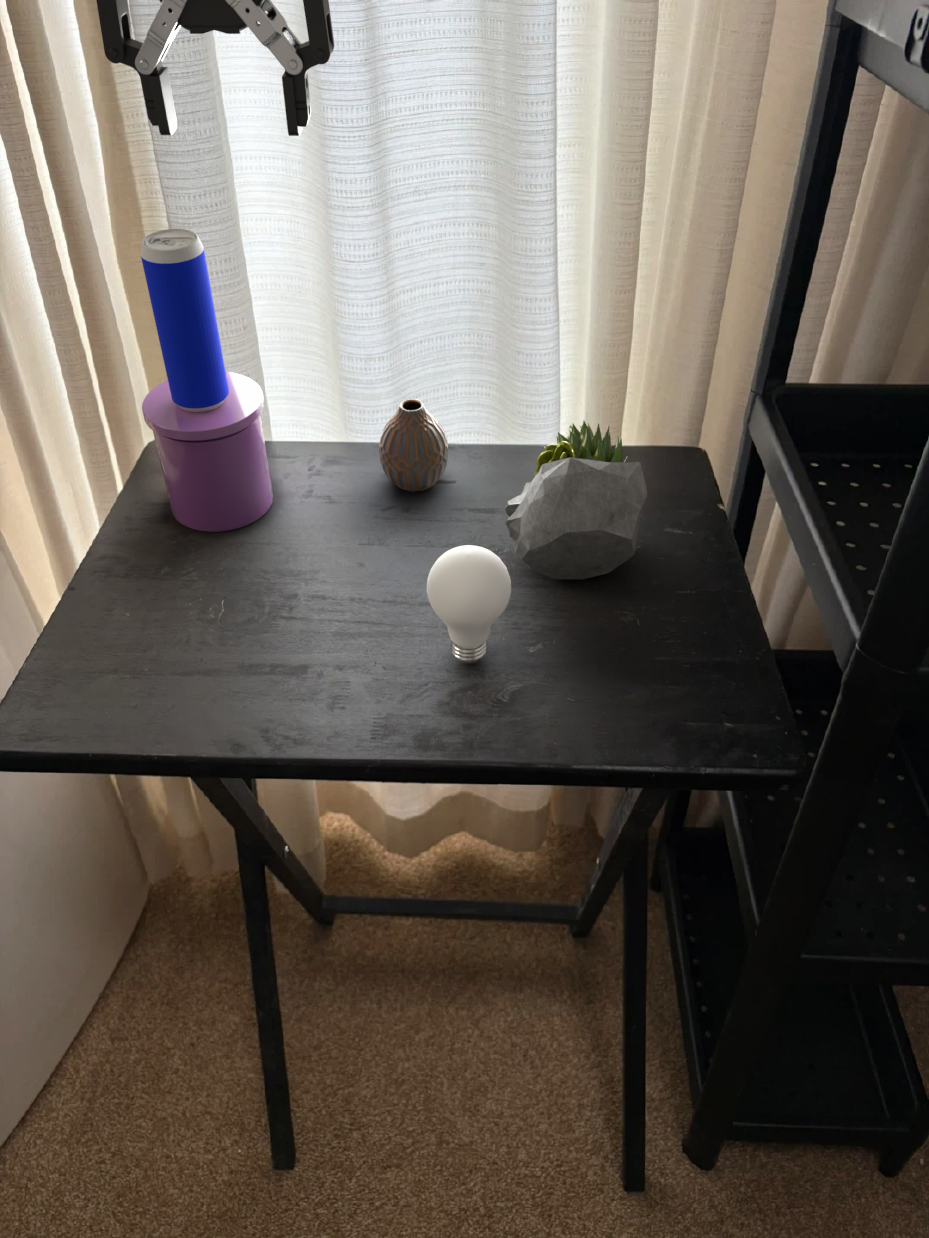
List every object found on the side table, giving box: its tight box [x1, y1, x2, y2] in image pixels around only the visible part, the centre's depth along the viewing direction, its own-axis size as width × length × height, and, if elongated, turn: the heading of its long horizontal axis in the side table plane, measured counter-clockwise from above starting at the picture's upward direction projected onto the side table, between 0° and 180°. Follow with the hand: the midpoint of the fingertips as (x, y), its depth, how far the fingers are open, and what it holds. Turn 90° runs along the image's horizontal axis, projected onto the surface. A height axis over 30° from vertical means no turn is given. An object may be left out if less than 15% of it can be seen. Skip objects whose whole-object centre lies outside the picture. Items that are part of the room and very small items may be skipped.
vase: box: [378, 398, 449, 492], centre depth 103 cm, size 7×7×9 cm
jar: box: [141, 371, 274, 533], centre depth 99 cm, size 11×11×12 cm
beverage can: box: [140, 228, 229, 412], centre depth 90 cm, size 5×5×15 cm
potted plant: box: [504, 419, 649, 580], centre depth 94 cm, size 12×13×15 cm
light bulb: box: [426, 544, 512, 664], centre depth 82 cm, size 7×7×11 cm
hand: (233, 132), depth 69 cm, fingers open, 8 cm apart
